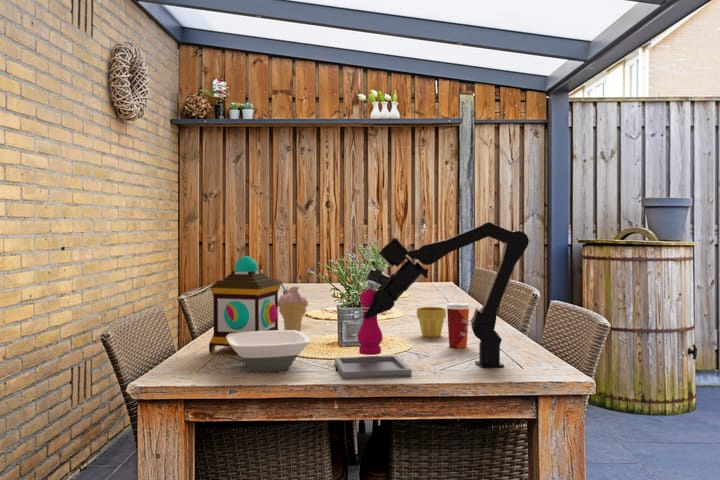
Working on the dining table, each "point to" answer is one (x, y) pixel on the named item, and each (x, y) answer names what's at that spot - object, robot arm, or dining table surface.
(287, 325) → the ice cream cone
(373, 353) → the pepper mill
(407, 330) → the dining table surface
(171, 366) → the dining table surface
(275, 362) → the bowl
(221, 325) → the decorative lantern
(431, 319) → the plant pot
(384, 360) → the slate tray
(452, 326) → the paper cup
